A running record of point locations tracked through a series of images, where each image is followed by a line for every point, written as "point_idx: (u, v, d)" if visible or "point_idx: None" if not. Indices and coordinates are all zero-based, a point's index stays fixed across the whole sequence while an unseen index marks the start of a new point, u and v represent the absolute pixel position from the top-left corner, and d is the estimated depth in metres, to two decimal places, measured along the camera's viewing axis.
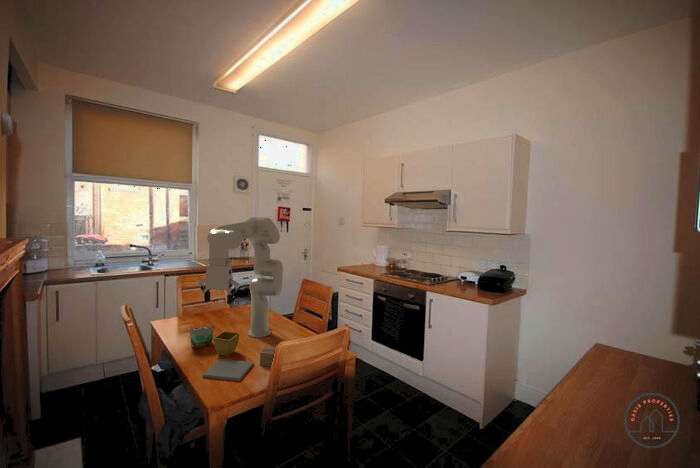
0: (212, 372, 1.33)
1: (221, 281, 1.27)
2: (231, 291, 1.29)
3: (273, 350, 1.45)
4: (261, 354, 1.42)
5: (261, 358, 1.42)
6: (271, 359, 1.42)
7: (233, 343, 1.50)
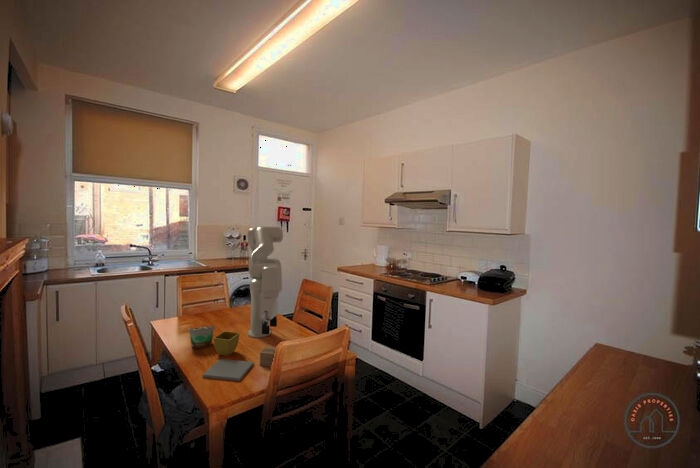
0: (212, 372, 1.33)
1: (276, 308, 1.45)
2: (276, 314, 1.49)
3: (273, 350, 1.45)
4: (261, 354, 1.42)
5: (261, 358, 1.42)
6: (271, 359, 1.42)
7: (233, 343, 1.50)
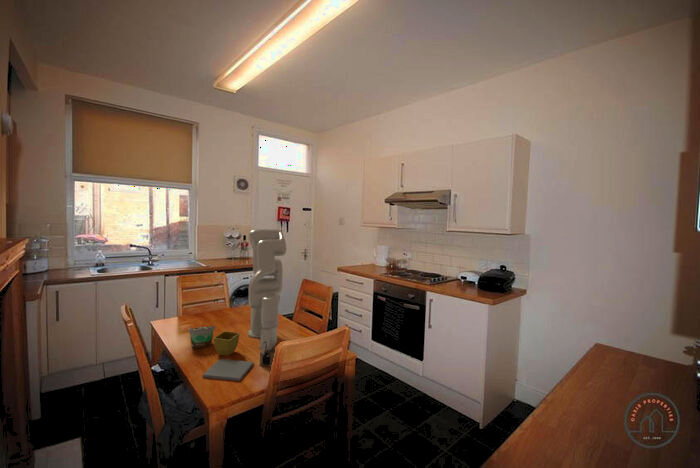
0: (212, 372, 1.33)
1: (275, 337, 1.47)
2: (274, 346, 1.49)
3: (273, 350, 1.45)
4: (261, 354, 1.42)
5: (261, 358, 1.42)
6: (271, 359, 1.42)
7: (233, 343, 1.50)
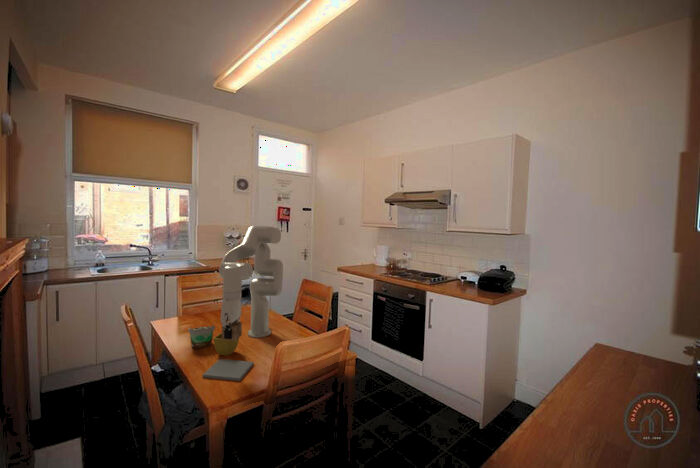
0: (212, 372, 1.33)
1: (239, 310, 1.37)
2: (238, 320, 1.40)
3: (236, 324, 1.36)
4: None
5: (223, 332, 1.33)
6: (234, 333, 1.33)
7: (233, 343, 1.50)
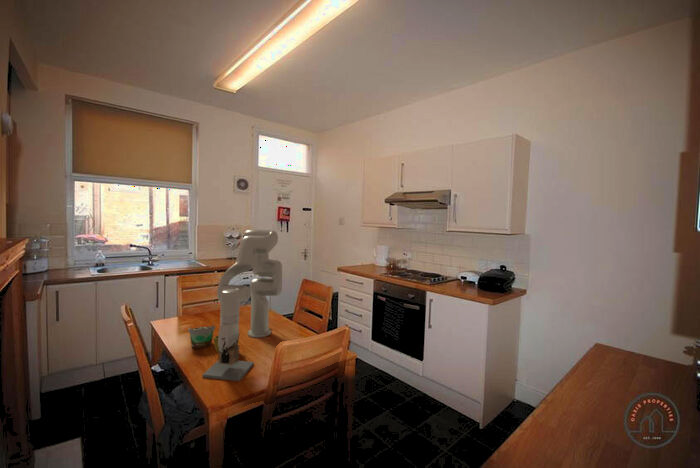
0: (212, 372, 1.33)
1: (237, 333, 1.38)
2: None
3: (234, 347, 1.36)
4: None
5: (220, 356, 1.33)
6: (231, 357, 1.33)
7: None
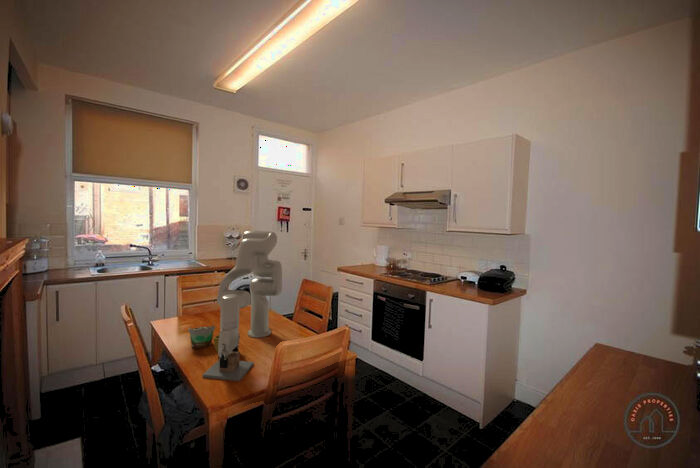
0: (212, 372, 1.33)
1: (237, 338, 1.38)
2: (237, 344, 1.42)
3: (234, 354, 1.36)
4: None
5: None
6: (231, 364, 1.33)
7: None
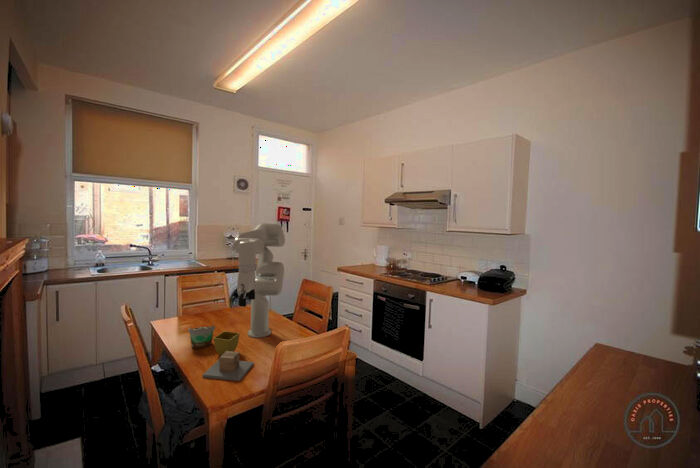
0: (212, 372, 1.33)
1: (254, 281, 1.50)
2: (254, 288, 1.54)
3: (234, 354, 1.36)
4: (220, 359, 1.34)
5: (220, 363, 1.34)
6: (231, 364, 1.33)
7: (233, 343, 1.50)
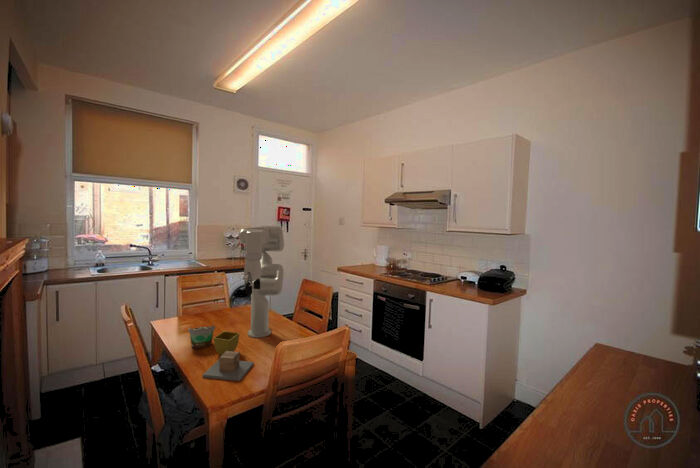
0: (212, 372, 1.33)
1: (259, 271, 1.55)
2: (259, 278, 1.59)
3: (234, 354, 1.36)
4: (220, 359, 1.34)
5: (220, 363, 1.34)
6: (231, 364, 1.33)
7: (233, 343, 1.50)
